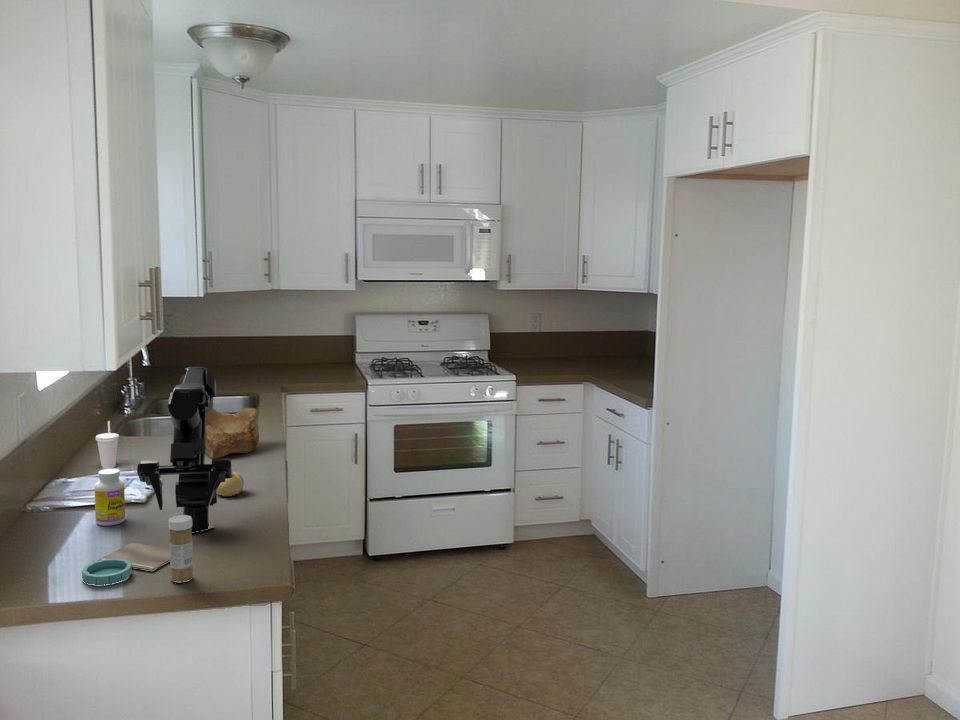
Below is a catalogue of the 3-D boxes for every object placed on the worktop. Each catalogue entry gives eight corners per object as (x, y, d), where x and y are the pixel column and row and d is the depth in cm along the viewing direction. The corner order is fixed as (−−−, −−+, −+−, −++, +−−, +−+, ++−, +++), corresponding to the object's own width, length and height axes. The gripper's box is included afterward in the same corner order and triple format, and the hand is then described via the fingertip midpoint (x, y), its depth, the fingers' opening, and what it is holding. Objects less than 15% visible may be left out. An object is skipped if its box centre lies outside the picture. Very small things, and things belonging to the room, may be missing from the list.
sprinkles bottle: (187, 573, 172) (185, 512, 170) (197, 580, 169) (196, 518, 167) (166, 579, 169) (164, 517, 167) (176, 586, 166) (175, 523, 164)
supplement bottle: (106, 528, 196) (104, 476, 194) (89, 522, 199) (87, 472, 197) (131, 520, 201) (129, 470, 199) (114, 515, 205) (112, 465, 203)
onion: (207, 495, 222) (206, 470, 221) (228, 488, 229) (228, 463, 228) (229, 501, 218) (228, 475, 217) (250, 493, 225) (250, 468, 224)
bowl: (105, 565, 175) (104, 556, 175) (141, 571, 172) (140, 562, 172) (72, 582, 166) (72, 572, 166) (110, 589, 164) (109, 579, 163)
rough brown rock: (183, 465, 251) (183, 419, 248) (184, 447, 267) (184, 403, 263) (261, 463, 259) (262, 418, 255) (258, 445, 274) (259, 403, 271)
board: (132, 544, 186) (132, 542, 186) (184, 553, 183) (184, 550, 182) (97, 563, 176) (97, 559, 176) (152, 572, 172) (152, 569, 172)
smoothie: (119, 469, 243) (118, 423, 241) (96, 470, 241) (94, 424, 238) (120, 463, 249) (118, 418, 247) (97, 464, 246) (95, 419, 244)
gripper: (135, 425, 169) (130, 497, 162) (230, 423, 174) (229, 493, 166) (143, 446, 178) (138, 515, 171) (232, 443, 183) (231, 510, 176)
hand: (184, 508), depth 171 cm, fingers open, 9 cm apart
